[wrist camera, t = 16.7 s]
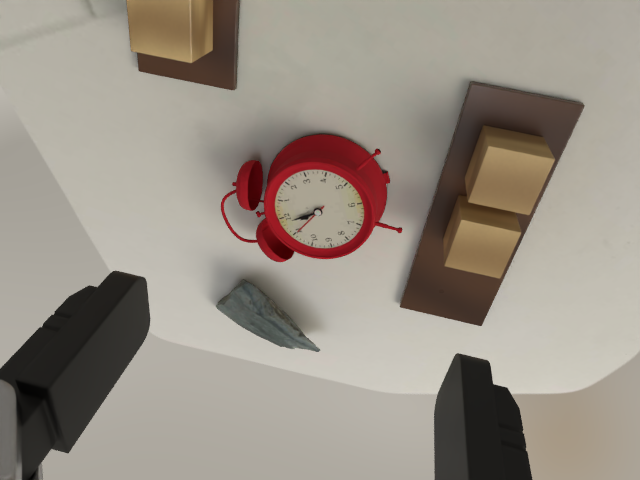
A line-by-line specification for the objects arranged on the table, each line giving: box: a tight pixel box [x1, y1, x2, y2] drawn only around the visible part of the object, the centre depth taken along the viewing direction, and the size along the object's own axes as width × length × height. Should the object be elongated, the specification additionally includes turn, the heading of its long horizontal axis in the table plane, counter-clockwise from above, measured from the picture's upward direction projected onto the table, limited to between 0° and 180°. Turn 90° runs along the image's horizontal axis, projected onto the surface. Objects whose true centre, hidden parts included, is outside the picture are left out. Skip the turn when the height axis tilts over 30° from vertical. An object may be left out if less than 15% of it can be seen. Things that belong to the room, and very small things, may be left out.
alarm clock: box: [221, 134, 402, 262], centre depth 40 cm, size 10×6×15 cm
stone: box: [216, 280, 320, 352], centre depth 50 cm, size 11×4×10 cm
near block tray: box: [400, 82, 584, 326], centre depth 39 cm, size 22×8×5 cm, turn 172°
